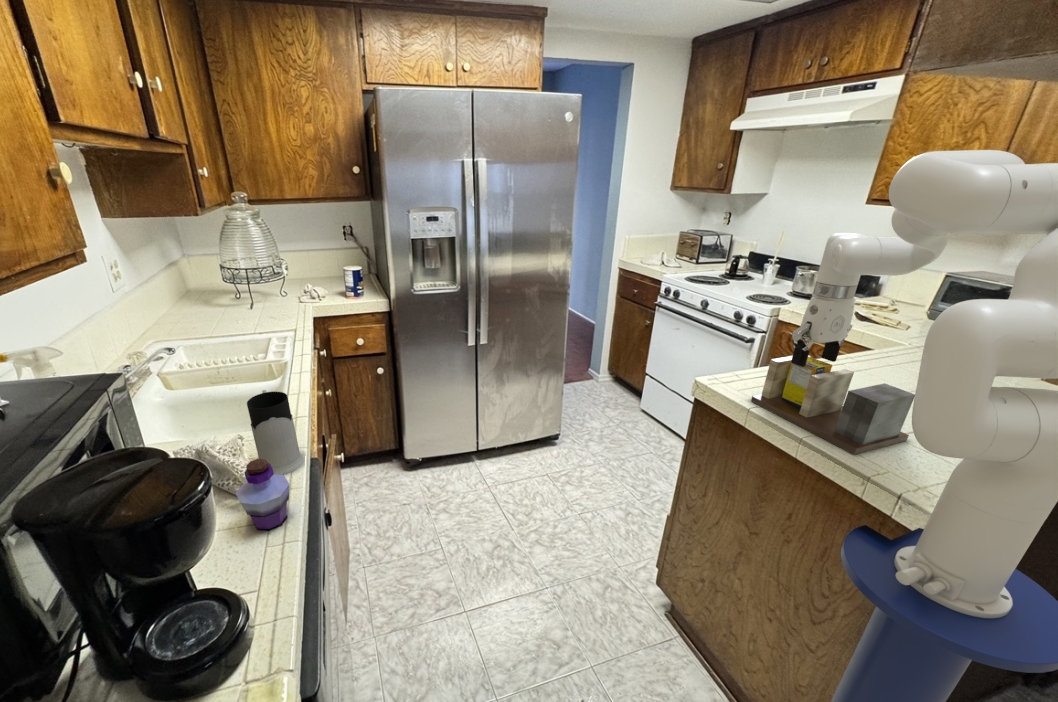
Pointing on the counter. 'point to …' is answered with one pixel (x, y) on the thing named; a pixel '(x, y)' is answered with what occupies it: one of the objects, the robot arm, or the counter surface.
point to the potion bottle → (264, 495)
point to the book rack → (840, 408)
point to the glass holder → (274, 431)
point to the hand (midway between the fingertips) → (813, 362)
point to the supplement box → (802, 380)
